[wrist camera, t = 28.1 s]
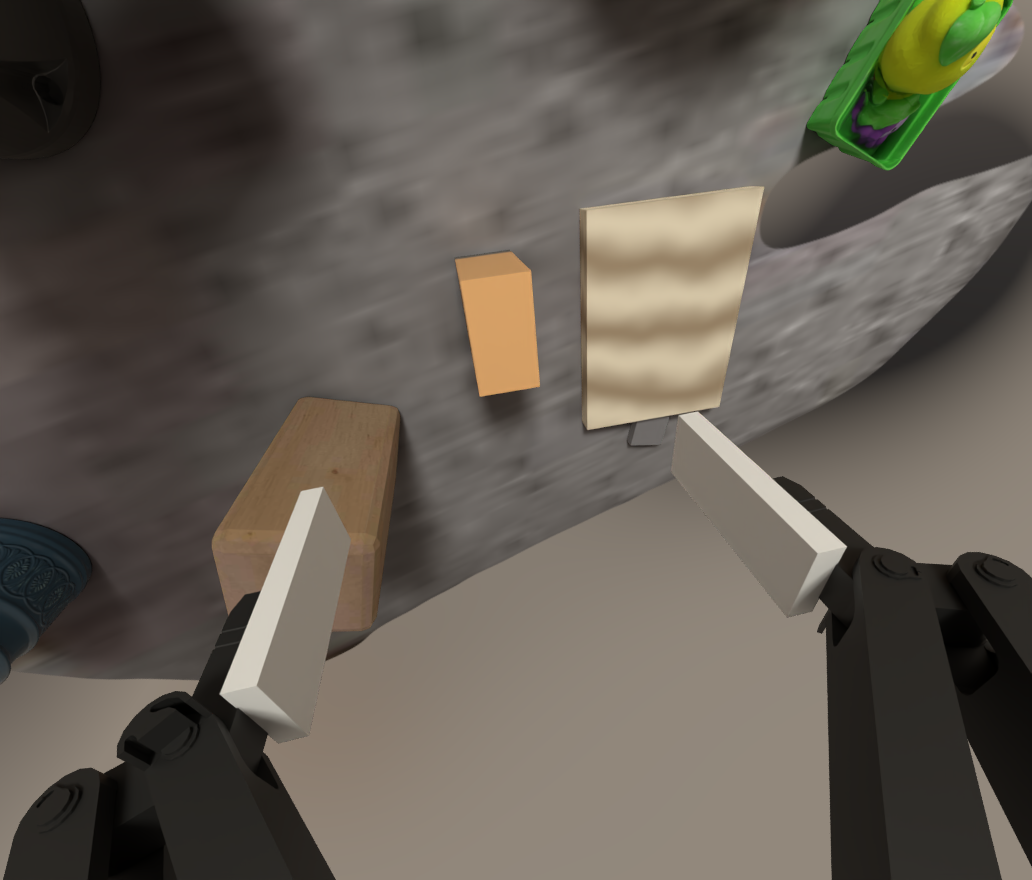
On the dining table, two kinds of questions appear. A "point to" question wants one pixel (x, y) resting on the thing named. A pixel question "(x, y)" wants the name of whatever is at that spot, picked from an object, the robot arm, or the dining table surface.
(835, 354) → the dining table surface
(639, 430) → the gray square block
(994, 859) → the robot arm
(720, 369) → the birch board
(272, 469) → the wooden block
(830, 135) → the fruit basket
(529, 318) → the block
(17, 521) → the canister
